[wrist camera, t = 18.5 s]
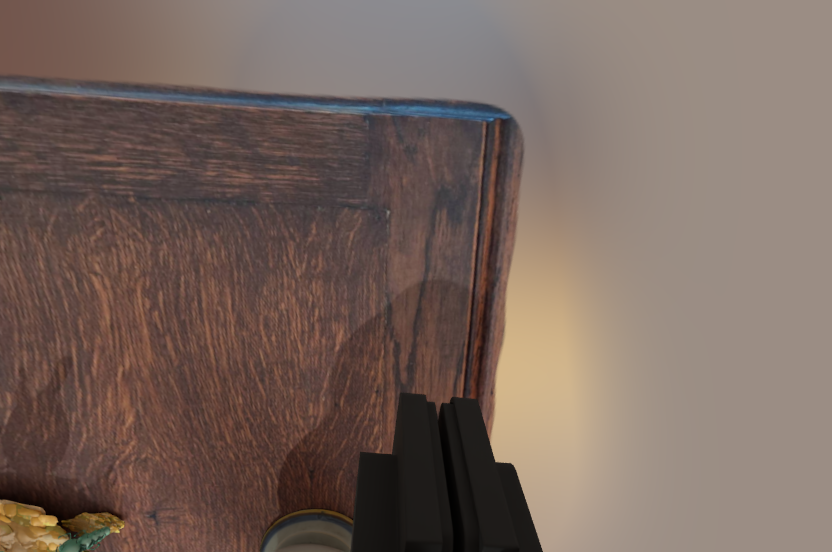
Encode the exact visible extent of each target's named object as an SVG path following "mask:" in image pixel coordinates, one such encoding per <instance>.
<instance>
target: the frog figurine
mask: <svg viewBox="0 0 832 552" xmlns="http://www.w3.org/2000/svg"><path fill="white" fill-rule="evenodd" d="M45 514H46V513H45V511H44V509H43V508H41V507H38V506H32V505H25V504H20V503H17V502H13V501H9V500H0V552H89V551H86V549H91V548H90V547H92V546H93V544H97V542H101V541H100V540H102V539H103V538H104V537H105V536H107V535H108V534H109V533H112V532H115V533H119V532H120V531H119V530H118V529H121V528H122V527H124V525H125V524H124V523H125V522H123V521H121V520H120V519H118V517H116V516H114V515H112V514H109V513H107V512H105V513H96V514H88V513H87V512H85V513H82V514H80V515H79V516H76V518H74V519H68V520H66V519H65V520H62V521H61V522H62V523H64V525H62V526H64V527H67V528H69V530H70V531H74V532H78V533H79V534H80V535H77V534H78V533H77V534H76V535H77V536H81V537H79V538H77V539H74V538H73V539H71V533H68V534H70V538H69V537H68V535H67V534H66V533H67V532H66V530H65V529H62V528H61V527H60V526H59V525H57V524H56V523H57V522H58V520H57V518H56V517H55V516H50V515H45ZM76 535H74V537H76ZM98 546H100V544H98ZM98 546H97V547H98ZM97 547H96V548H97ZM96 548H95V549H96ZM95 549H94V550H95ZM91 550H93V549H91Z"/></svg>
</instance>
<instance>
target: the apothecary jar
mask: <svg viewBox="0 0 832 552" xmlns="http://www.w3.org/2000/svg"><path fill="white" fill-rule="evenodd" d="M352 527H353V520H352V519H350V518H348V517H347V516H345V515H343V514H340V513H338V512H334V511H330V510H325V509H308V510H301V511H297V512H293V513H291V514H288V515H286V516H284V517H282V518H280V519H279V520H278V521H276V522H275V523H274V524H273V525H272V526H271V527H270V528H269V529H268V530H267V532H266V533H265V535H264V537H263V539H262V542H261V546H260V552H350V549H351V538H352Z"/></svg>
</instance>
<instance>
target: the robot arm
mask: <svg viewBox="0 0 832 552" xmlns="http://www.w3.org/2000/svg"><path fill="white" fill-rule="evenodd" d="M350 552H543V551H542V548H541V545H540V542H539V539H538V536H537V533H536V530H535V527H534V524H533V521H532V518H531V514H530V511H529V509H528V506H527V502H526V499H525V496H524V494H523V491H522V487H521V484H520V482H519V479H518V476H517V472H516V470H515V467H514V466H513V465H512V464H511V463H498V462H495V459H494V456H493V452H492V449H491V445H490V441H489V438H488V434H487V431H486V427H485V424H484V420H483V417H482V413H481V410H480V406H479V403H478V400H477V399H469V398H458V397H452V398H451V400H450V404H449V403H442V404H441V407H440V413H439V419H438V420H437V413H436V406H435V402H427V400H426V395H422V394H411V393H400V397H399V404H398V412H397V420H396V427H395V435H394V442H393V450H392V454H379V453H366V452H360V458H359V468H358V477H357V486H356V496H355V506H354V516H353V527H352V538H351V549H350Z"/></svg>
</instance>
